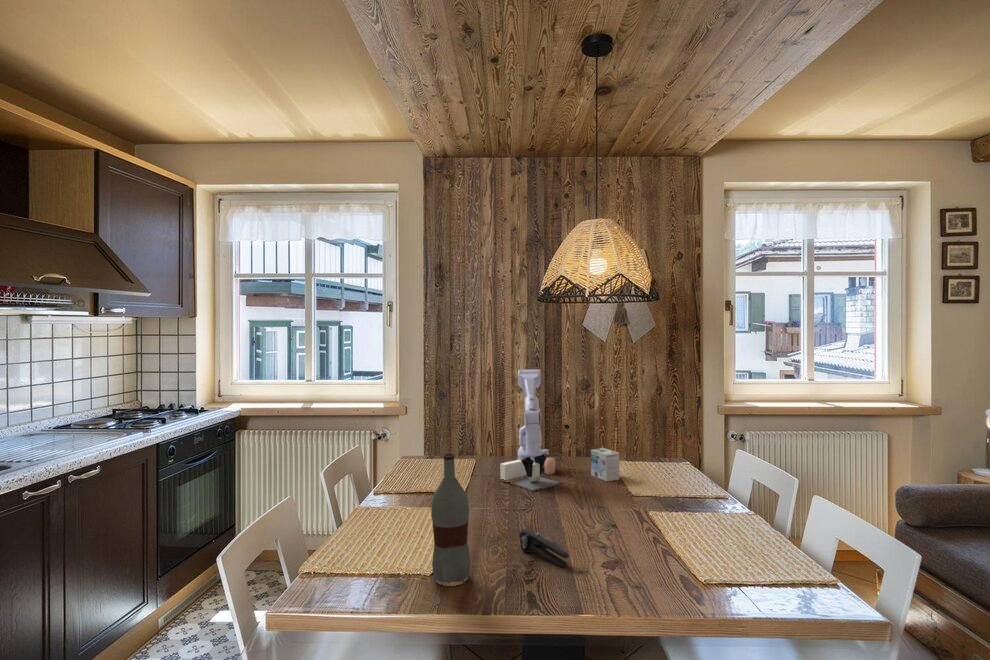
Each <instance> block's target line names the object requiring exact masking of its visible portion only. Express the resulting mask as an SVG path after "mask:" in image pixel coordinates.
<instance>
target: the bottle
mask: <svg viewBox="0 0 990 660" xmlns="http://www.w3.org/2000/svg"><path fill="white" fill-rule="evenodd" d="M455 473H456V470H455V453H445V454H443V477H442V479H441V482H439V485H438V486H437V488H436V490H435V492H434V494H433V496H432V500H431V511H430V514H431V522H432V532H433V542H434V543H433V545H434V546H433V550H432V551H433V552H432V564H431V566H432V567H431V568H432V573H433V578H434V577H435V578H434V580H435V579H436V580H438V581H441V582H447V583H450V582H458V581H461V580H464V579H466V578H467V577H468V576H469V577H470V572H471V571H470V570H471V557H470V549H469V544H468V543H469V542H468V535H469V534H468V530H469V516H470V507H469V499H468V496H467V493H466V491H465V490H464V488H463V486H462V485H461V483H460V481H459V480H458V479H457V477H456V476H455V475H456V474H455ZM469 577H468V578H469Z"/></svg>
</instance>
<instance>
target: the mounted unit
mask: <svg viewBox="0 0 990 660" xmlns="http://www.w3.org/2000/svg"><path fill="white" fill-rule="evenodd" d="M499 467H500V469H499V470H500V471H499V473H500V478H499V479H504V480H508V479H513V478H521V477H526V476H527V474H526V470H525V467H524V465H523V463H522V461H521V460H518V459H516V460H511V461H506V462H502V463H500V464H499Z"/></svg>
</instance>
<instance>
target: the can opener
mask: <svg viewBox="0 0 990 660" xmlns="http://www.w3.org/2000/svg"><path fill="white" fill-rule="evenodd" d="M519 542H520V549H521V550H522V551H523V552H525V551H526V553H537V554H539V555H541V556H543V557H544V558H545V559H547V560H548V561H549V562H551V563H552V564H554V565H556V566H558V567H561V568H566V567H568V564H567V562H566V561H565V560H563V559H567V558H569V557H570V555H569V554H568V552H567V551H565V550H563V549H562V548H561V547H560V546H559V545H556V544H555V543H553V542H552V541H551V540H549V539H547V538H546V537H543V536H541V534H540V533H539V532H533V531H531V530H528V529H526V528H523V529H522V530H521V531H520V533H519ZM557 555H558V556H557ZM562 558H563V559H562Z"/></svg>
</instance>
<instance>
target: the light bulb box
mask: <svg viewBox="0 0 990 660" xmlns="http://www.w3.org/2000/svg"><path fill="white" fill-rule="evenodd" d="M590 462H591V463H590V464H591V467H590V469H591V471H590V473H591V476H592V477H595V478H598V479H600V480H602V481H605V482H612V481H617V480H621V479H620V478H621V477H620V452H618V451H615V450H610V449H608V448H604V447H600V448H595V449H591V450H590Z"/></svg>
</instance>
